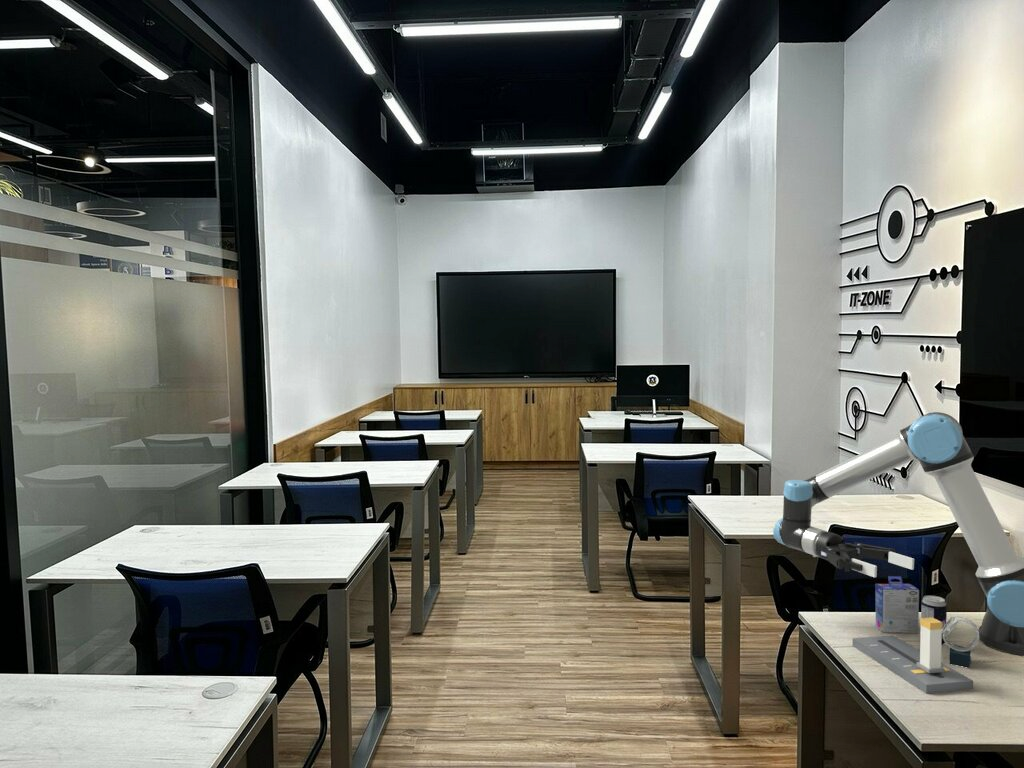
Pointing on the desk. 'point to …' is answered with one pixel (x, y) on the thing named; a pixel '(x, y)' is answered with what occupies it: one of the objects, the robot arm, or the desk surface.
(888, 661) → the fader console
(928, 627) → the fader handle
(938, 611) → the beverage can
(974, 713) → the desk surface
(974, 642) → the watch
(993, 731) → the desk surface
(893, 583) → the ink cartridge box
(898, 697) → the desk surface
